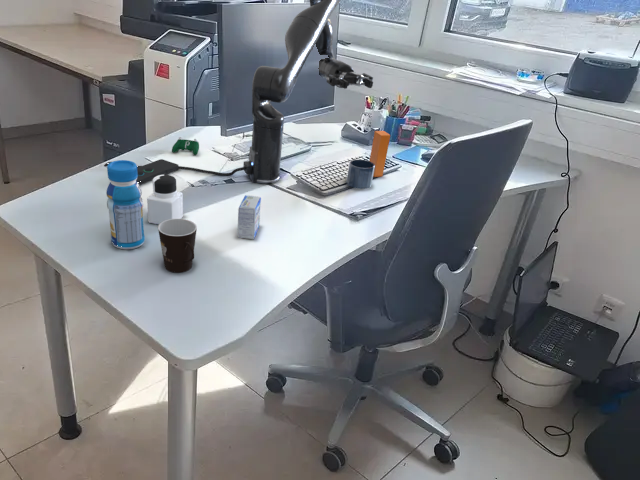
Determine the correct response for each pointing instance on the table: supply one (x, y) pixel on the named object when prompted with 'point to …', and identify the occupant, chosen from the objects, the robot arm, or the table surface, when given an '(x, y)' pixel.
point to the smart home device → (155, 170)
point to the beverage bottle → (125, 205)
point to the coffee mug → (177, 244)
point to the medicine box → (249, 217)
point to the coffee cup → (360, 174)
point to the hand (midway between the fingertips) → (359, 85)
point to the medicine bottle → (164, 200)
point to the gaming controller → (186, 145)
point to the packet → (379, 152)
